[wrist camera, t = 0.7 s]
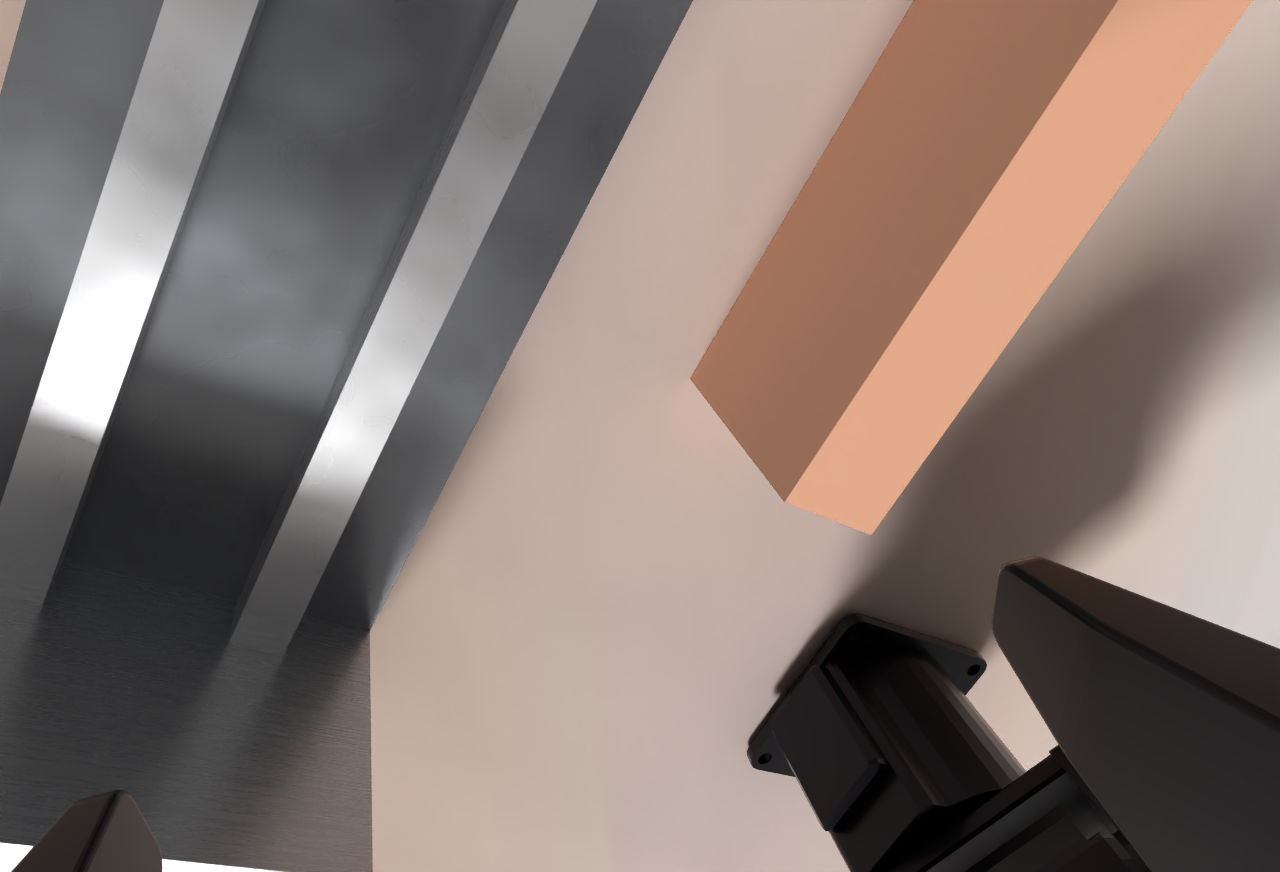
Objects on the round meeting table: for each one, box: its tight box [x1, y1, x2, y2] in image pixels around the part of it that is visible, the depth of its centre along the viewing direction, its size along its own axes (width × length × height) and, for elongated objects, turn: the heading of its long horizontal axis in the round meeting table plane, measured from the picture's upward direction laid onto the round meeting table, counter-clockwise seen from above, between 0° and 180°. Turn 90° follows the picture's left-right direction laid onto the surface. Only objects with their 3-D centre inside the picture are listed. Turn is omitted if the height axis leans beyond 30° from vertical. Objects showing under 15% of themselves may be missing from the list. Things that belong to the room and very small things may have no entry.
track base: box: [0, 0, 693, 872], centre depth 14 cm, size 10×28×8 cm, turn 150°
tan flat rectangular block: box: [690, 0, 1253, 535], centre depth 19 cm, size 2×12×6 cm, turn 150°
